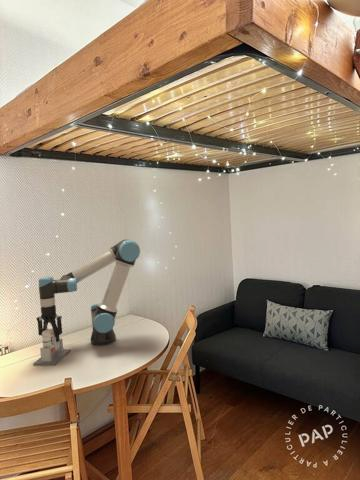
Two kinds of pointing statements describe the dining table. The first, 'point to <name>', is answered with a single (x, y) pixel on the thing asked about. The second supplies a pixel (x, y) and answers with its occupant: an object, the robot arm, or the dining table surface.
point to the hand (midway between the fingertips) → (51, 347)
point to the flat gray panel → (52, 355)
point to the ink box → (49, 339)
